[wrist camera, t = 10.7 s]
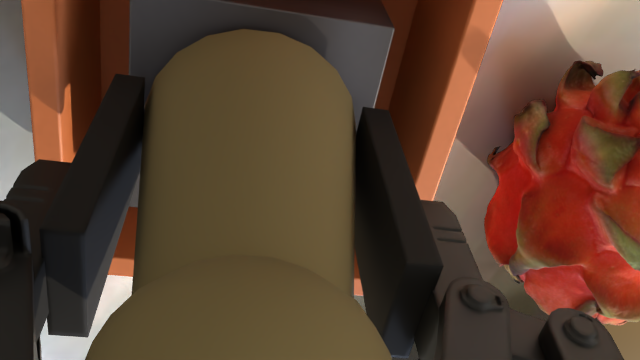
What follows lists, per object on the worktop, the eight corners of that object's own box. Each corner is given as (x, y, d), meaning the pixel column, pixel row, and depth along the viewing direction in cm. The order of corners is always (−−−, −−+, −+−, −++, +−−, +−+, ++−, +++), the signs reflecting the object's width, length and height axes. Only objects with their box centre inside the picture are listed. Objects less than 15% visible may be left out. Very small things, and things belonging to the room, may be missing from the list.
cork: (211, -17, 15) (130, 312, 6) (398, 103, 17) (543, 473, 8) (107, 157, 18) (-61, 571, 9) (281, 242, 20) (294, 640, 11)
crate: (85, 174, 24) (43, 269, 20) (74, -165, 18) (7, -141, 13) (375, 205, 26) (399, 299, 22) (461, -90, 20) (520, -47, 15)
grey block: (149, 135, 23) (126, 207, 19) (155, -57, 19) (129, -14, 15) (331, 157, 24) (343, 228, 20) (371, -20, 20) (396, 27, 16)
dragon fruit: (581, -18, 23) (543, 204, 31) (432, 86, 19) (432, 305, 28) (848, 56, 18) (718, 298, 26) (710, 216, 14) (610, 438, 22)
